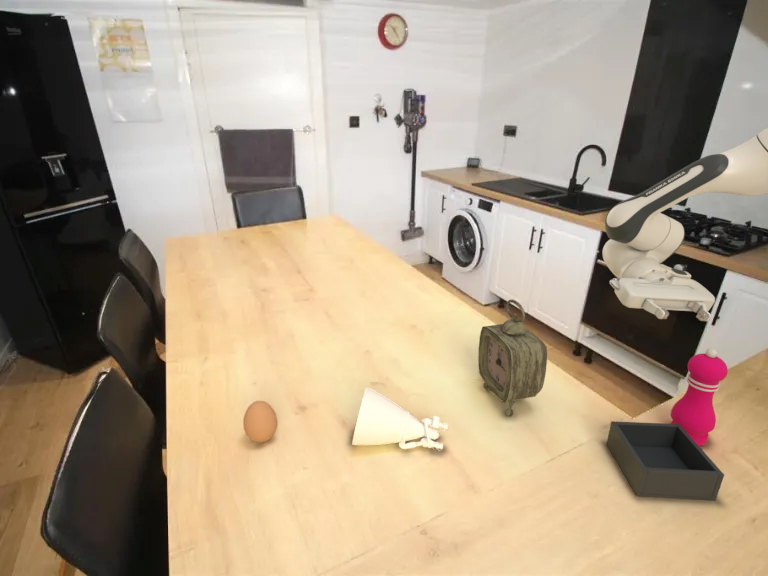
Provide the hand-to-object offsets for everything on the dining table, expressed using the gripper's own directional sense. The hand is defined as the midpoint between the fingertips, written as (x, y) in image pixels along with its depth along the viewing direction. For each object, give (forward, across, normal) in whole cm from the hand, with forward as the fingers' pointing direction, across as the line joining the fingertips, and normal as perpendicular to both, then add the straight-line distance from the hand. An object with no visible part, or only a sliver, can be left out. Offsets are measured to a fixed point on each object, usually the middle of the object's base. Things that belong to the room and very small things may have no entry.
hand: (685, 317), depth 85 cm
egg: (+11, -86, +30) cm, 92 cm away
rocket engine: (+14, -59, +26) cm, 66 cm away
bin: (+23, -12, +18) cm, 32 cm away
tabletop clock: (+1, -32, +26) cm, 41 cm away
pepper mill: (+15, 0, +19) cm, 24 cm away
